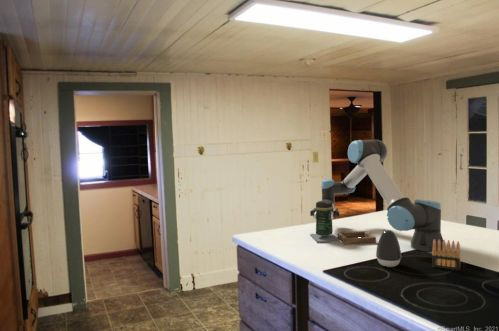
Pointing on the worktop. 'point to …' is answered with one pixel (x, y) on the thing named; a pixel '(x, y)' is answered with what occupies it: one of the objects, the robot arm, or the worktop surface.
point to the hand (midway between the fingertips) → (323, 216)
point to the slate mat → (324, 238)
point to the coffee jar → (324, 217)
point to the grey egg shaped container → (388, 249)
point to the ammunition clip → (446, 255)
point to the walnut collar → (356, 237)
